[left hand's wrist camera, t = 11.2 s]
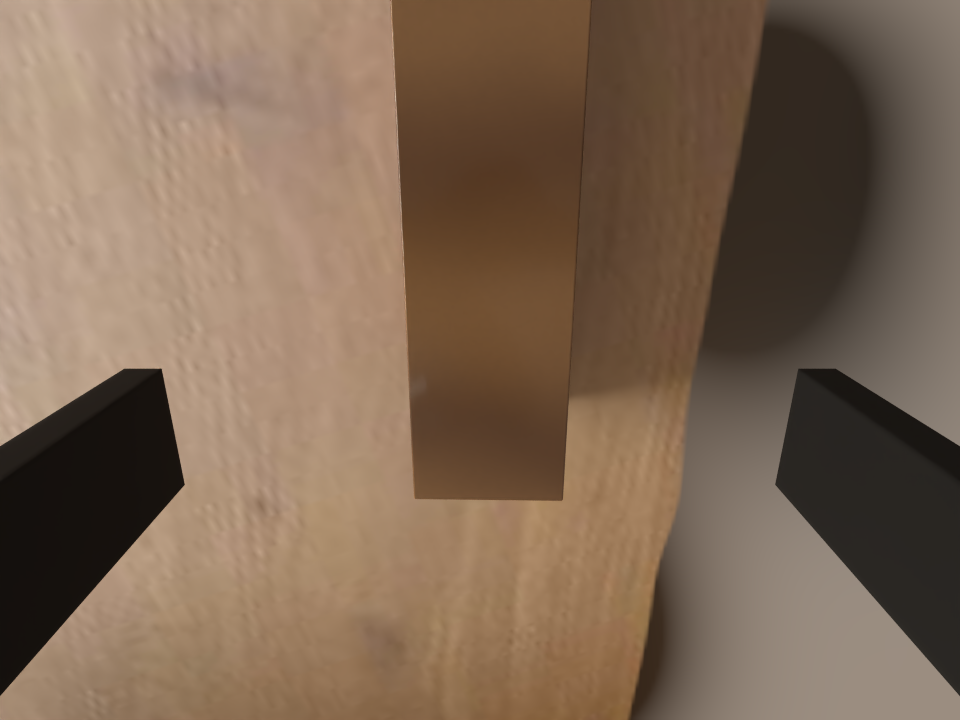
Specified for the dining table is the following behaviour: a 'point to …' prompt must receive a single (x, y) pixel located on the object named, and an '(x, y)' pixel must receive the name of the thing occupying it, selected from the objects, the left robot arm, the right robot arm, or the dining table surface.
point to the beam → (489, 237)
